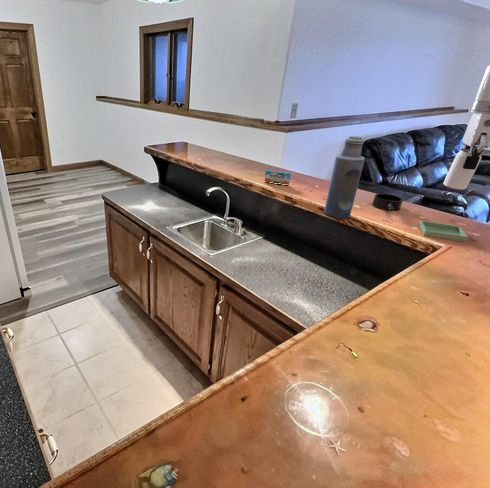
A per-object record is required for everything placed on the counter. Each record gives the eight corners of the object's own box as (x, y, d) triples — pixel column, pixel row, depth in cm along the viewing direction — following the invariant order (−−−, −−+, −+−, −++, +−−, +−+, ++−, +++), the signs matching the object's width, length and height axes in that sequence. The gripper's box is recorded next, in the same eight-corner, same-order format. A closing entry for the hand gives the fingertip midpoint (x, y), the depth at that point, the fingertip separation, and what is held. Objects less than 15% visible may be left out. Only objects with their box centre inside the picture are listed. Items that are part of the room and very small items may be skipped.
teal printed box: (264, 182, 177) (265, 170, 175) (265, 182, 179) (266, 170, 176) (288, 186, 172) (290, 174, 169) (289, 185, 173) (291, 173, 171)
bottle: (330, 218, 134) (349, 138, 121) (319, 209, 143) (336, 134, 130) (354, 218, 135) (376, 139, 121) (342, 209, 144) (361, 134, 130)
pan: (397, 204, 150) (400, 195, 148) (404, 219, 135) (407, 209, 133) (371, 201, 154) (374, 192, 152) (375, 215, 138) (377, 205, 137)
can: (442, 181, 121) (458, 147, 115) (464, 186, 118) (482, 150, 112) (443, 187, 116) (460, 151, 110) (467, 191, 113) (485, 155, 107)
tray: (458, 231, 125) (460, 226, 124) (466, 242, 117) (468, 237, 116) (418, 225, 130) (419, 220, 129) (423, 235, 121) (425, 230, 121)
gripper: (515, 110, 97) (488, 174, 105) (493, 106, 111) (471, 162, 119) (481, 109, 100) (458, 171, 108) (464, 105, 114) (444, 160, 122)
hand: (465, 166), depth 114 cm, fingers closed on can, 6 cm apart
